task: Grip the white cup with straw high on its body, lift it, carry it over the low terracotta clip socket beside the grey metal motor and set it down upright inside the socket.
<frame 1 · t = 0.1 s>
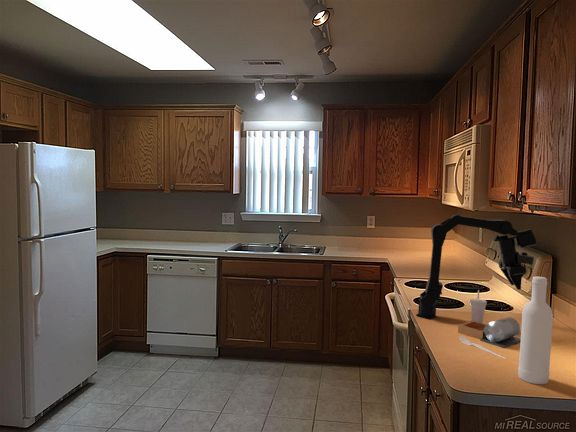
hand: (516, 287, 186), 15 cm above the worktop, tool pointing down, fingers open, 9 cm apart
motor unit: (477, 333, 173), on the worktop
bottle: (533, 379, 133), on the worktop
white cup with straw: (477, 324, 186), on the worktop
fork: (482, 350, 157), on the worktop
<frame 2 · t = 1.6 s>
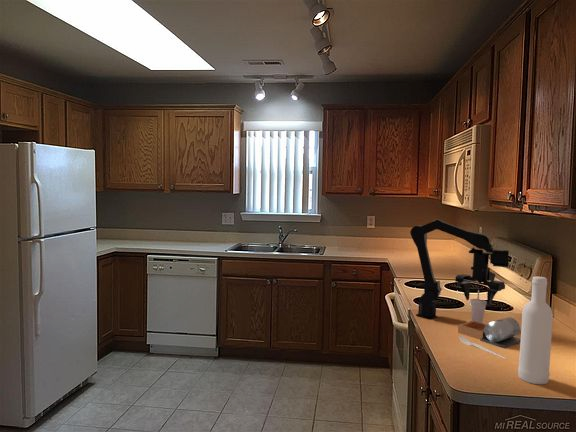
hand: (478, 302, 185), 9 cm above the worktop, tool pointing down, fingers open, 9 cm apart
nothing on the worktop moved.
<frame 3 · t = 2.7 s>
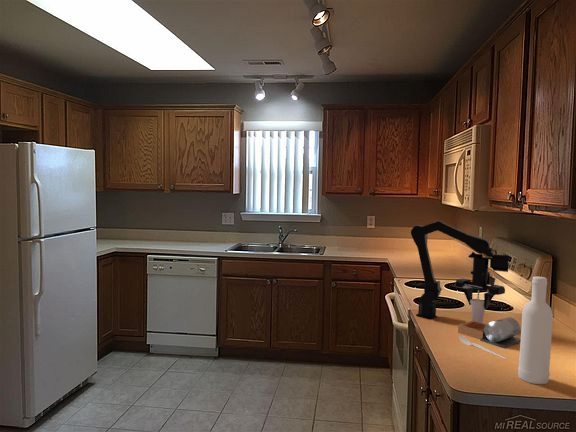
hand: (478, 307, 186), 7 cm above the worktop, tool pointing down, fingers closed on white cup with straw, 6 cm apart
white cup with straw: (477, 324, 186), on the worktop, touching gripper
everything else where it was.
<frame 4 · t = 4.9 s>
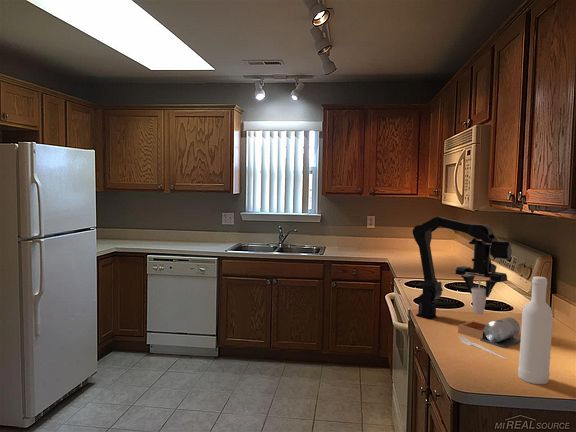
hand: (479, 295, 180), 13 cm above the worktop, tool pointing down, fingers closed on white cup with straw, 6 cm apart
white cup with straw: (478, 313, 181), point 6 cm above the worktop, touching gripper
everything else where it was.
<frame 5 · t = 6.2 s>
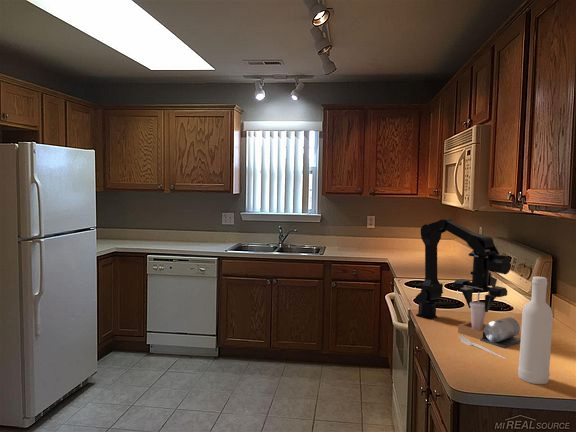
hand: (478, 309, 173), 9 cm above the worktop, tool pointing down, fingers closed on white cup with straw, 6 cm apart
white cup with straw: (476, 328, 173), point 2 cm above the worktop, touching gripper
everything else where it was.
when the fingers open (8 cm above the worktop, at t = 7.2 s): white cup with straw drops 1 cm, resting in motor unit.
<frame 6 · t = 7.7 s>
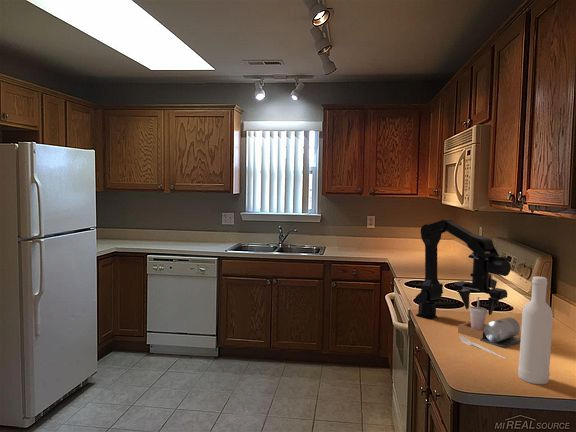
hand: (478, 311, 173), 8 cm above the worktop, tool pointing down, fingers open, 9 cm apart
white cup with straw: (476, 334, 173), resting in motor unit
everything else where it was.
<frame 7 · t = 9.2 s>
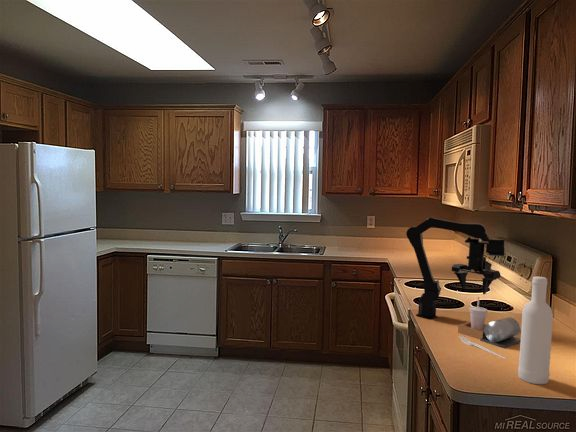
hand: (473, 291, 187), 13 cm above the worktop, tool pointing down, fingers open, 9 cm apart
nothing on the worktop moved.
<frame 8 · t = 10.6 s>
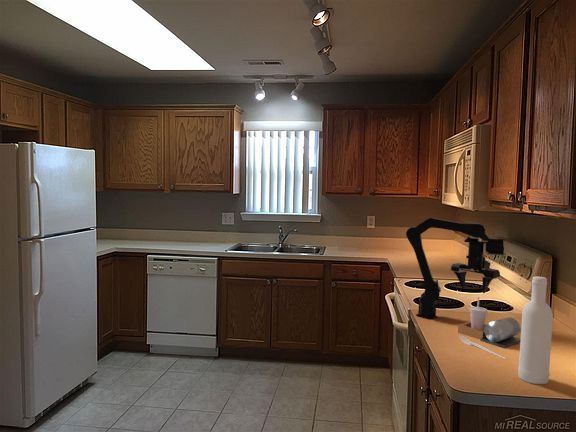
hand: (473, 290, 188), 13 cm above the worktop, tool pointing down, fingers open, 9 cm apart
nothing on the worktop moved.
at the end: white cup with straw 0.1 cm off-centre on the motor unit, point 0.0 cm above the motor unit's base; white cup with straw tilted 0°; the gripper is holding nothing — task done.
